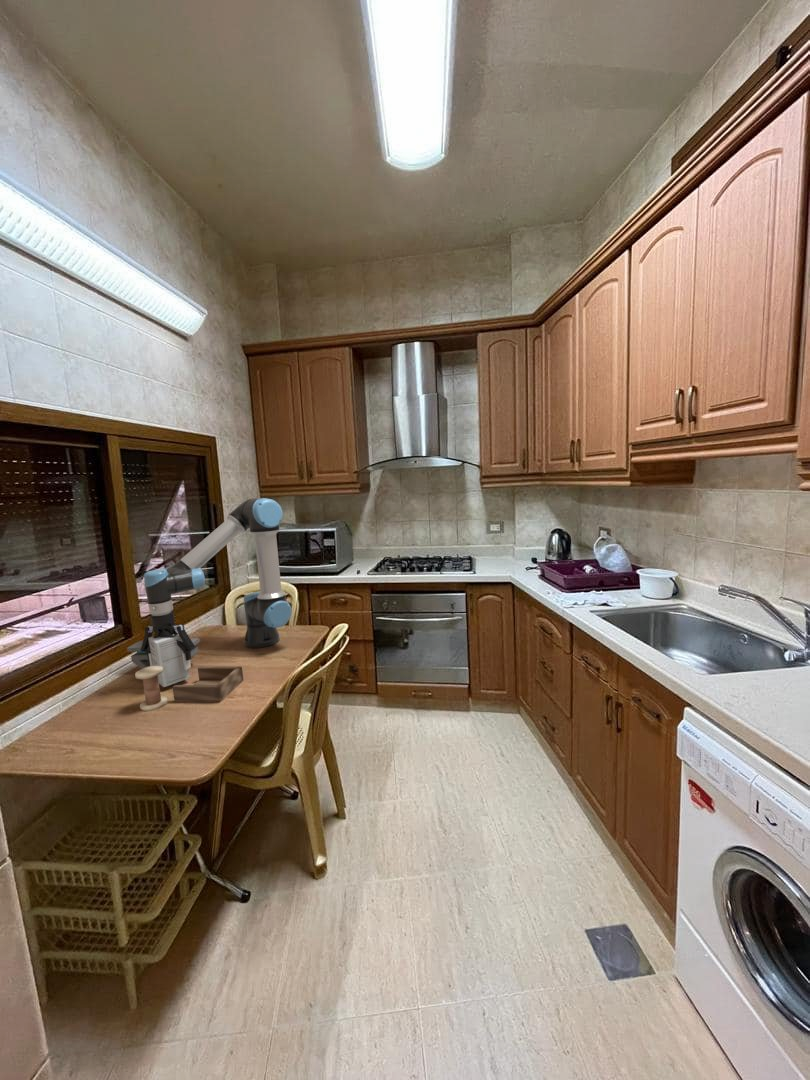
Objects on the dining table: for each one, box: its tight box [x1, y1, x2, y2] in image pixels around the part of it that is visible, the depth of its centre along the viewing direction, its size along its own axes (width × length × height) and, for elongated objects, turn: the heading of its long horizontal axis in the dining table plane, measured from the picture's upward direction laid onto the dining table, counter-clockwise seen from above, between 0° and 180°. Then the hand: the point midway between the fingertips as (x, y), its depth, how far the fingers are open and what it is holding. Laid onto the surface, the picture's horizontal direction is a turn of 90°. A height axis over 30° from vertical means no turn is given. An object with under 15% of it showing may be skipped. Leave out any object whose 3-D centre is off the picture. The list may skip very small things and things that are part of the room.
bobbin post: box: [134, 666, 169, 712], centre depth 149 cm, size 8×8×12 cm
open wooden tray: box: [171, 666, 244, 703], centre depth 157 cm, size 16×16×5 cm
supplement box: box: [148, 632, 191, 688], centre depth 164 cm, size 10×9×17 cm
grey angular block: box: [126, 637, 201, 670], centre depth 179 cm, size 25×8×11 cm, turn 88°
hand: (171, 668), depth 165 cm, fingers closed on supplement box, 12 cm apart
